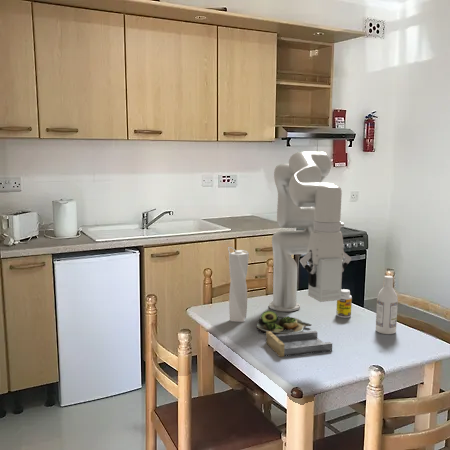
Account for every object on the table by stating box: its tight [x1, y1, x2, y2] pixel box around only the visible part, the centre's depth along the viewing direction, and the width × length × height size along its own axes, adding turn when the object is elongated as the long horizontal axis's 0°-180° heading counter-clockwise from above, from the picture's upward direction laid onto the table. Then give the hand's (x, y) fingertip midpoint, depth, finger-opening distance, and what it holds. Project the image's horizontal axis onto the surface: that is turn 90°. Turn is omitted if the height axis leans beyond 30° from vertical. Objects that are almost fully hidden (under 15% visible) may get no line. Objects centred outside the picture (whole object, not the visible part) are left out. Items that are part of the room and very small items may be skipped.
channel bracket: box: [265, 330, 333, 358], centre depth 163 cm, size 12×18×4 cm, turn 106°
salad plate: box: [256, 310, 312, 335], centre depth 181 cm, size 19×18×5 cm
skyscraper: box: [227, 246, 250, 323], centre depth 188 cm, size 8×8×28 cm
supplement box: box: [307, 258, 343, 303], centre depth 150 cm, size 7×7×13 cm
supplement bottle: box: [336, 288, 353, 319], centre depth 194 cm, size 6×6×10 cm
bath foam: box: [375, 275, 399, 335], centre depth 177 cm, size 7×7×20 cm
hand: (324, 284), depth 151 cm, fingers closed on supplement box, 7 cm apart
